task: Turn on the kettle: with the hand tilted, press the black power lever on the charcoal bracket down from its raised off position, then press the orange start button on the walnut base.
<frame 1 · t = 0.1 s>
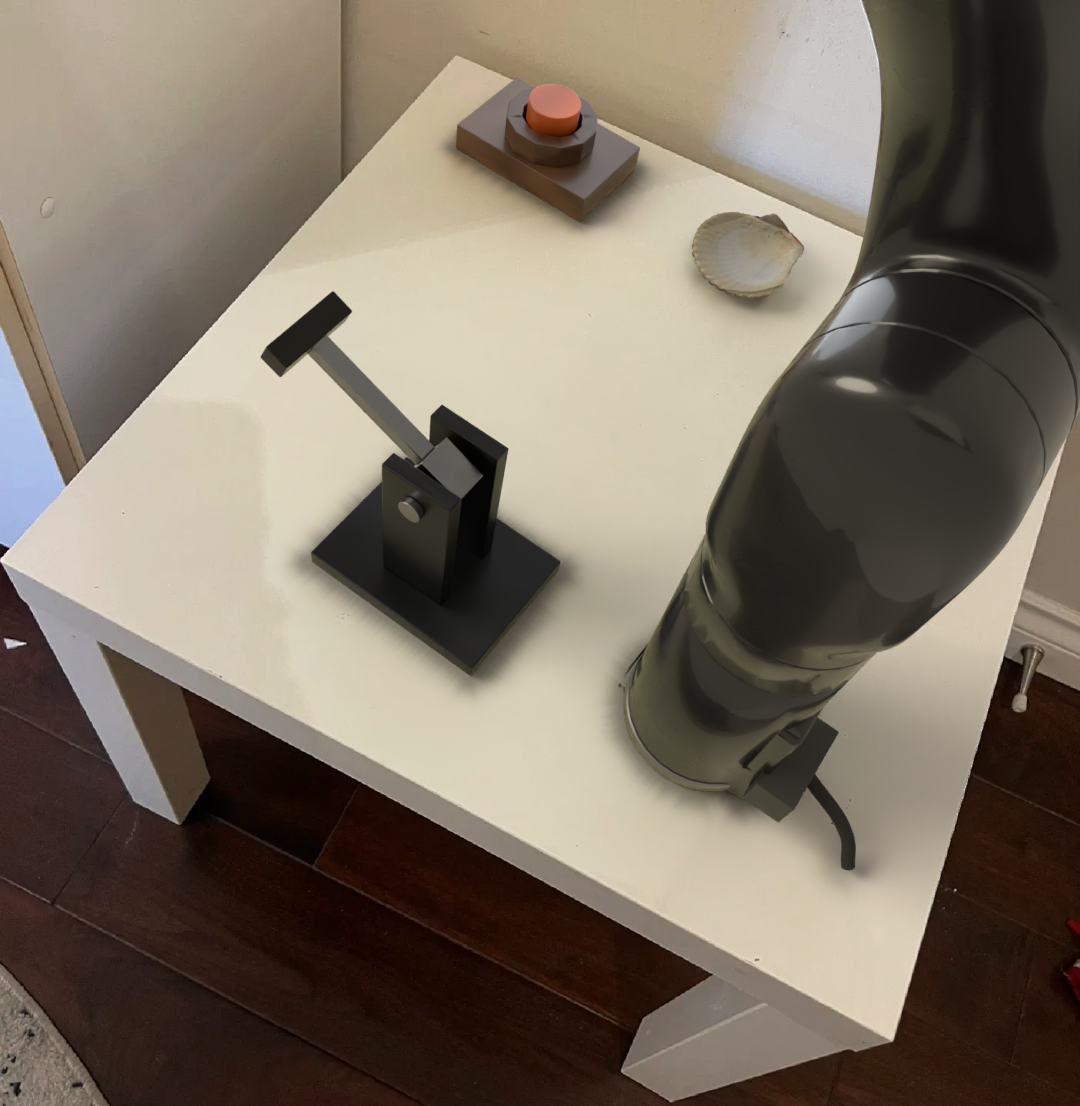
start button: (553, 110, 79), point 4 cm above the table, slide at 0.1 cm
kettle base: (545, 159, 83), on the table
switch lever: (381, 410, 54), point 12 cm above the table, hinge at 25.0°
seashell: (740, 270, 80), on the table
switch bracket: (436, 566, 63), on the table
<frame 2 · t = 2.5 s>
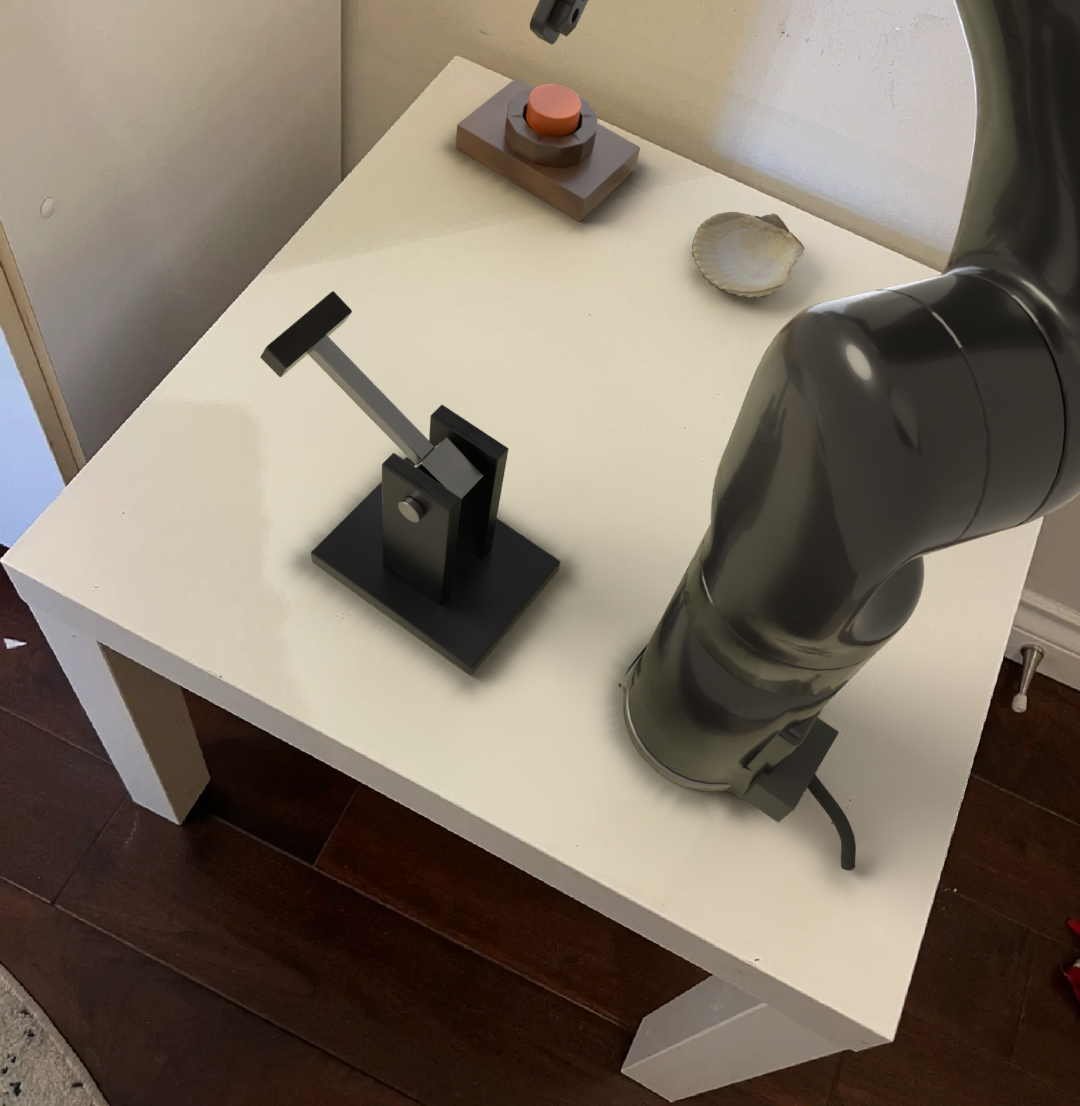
nothing on the table moved.
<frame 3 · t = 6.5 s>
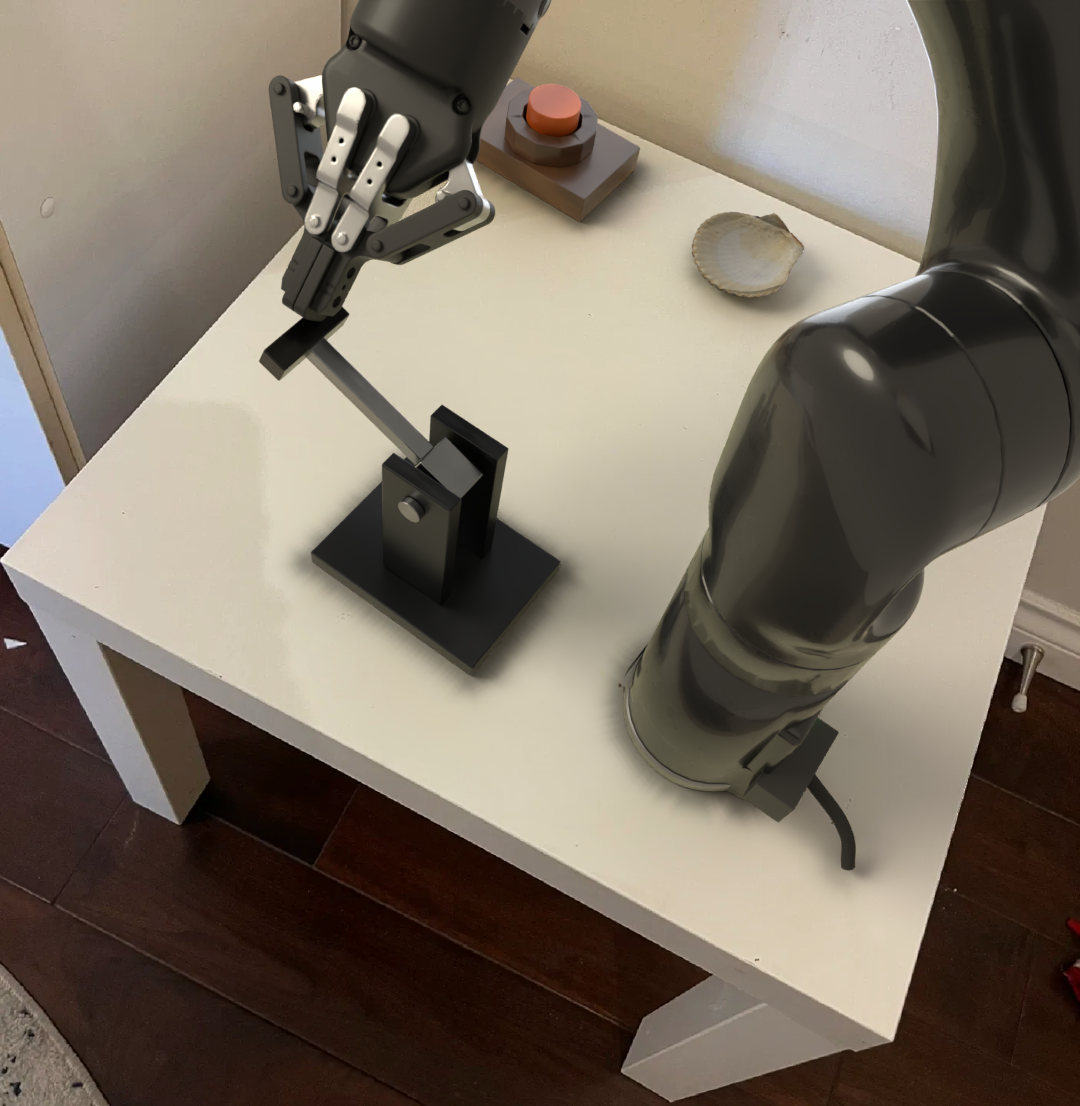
hand: (302, 313, 52), 15 cm above the table, tool tilted 45°, fingers closed
switch lever: (380, 412, 54), point 12 cm above the table, hinge at 22.4°, touching gripper
everything else where it was.
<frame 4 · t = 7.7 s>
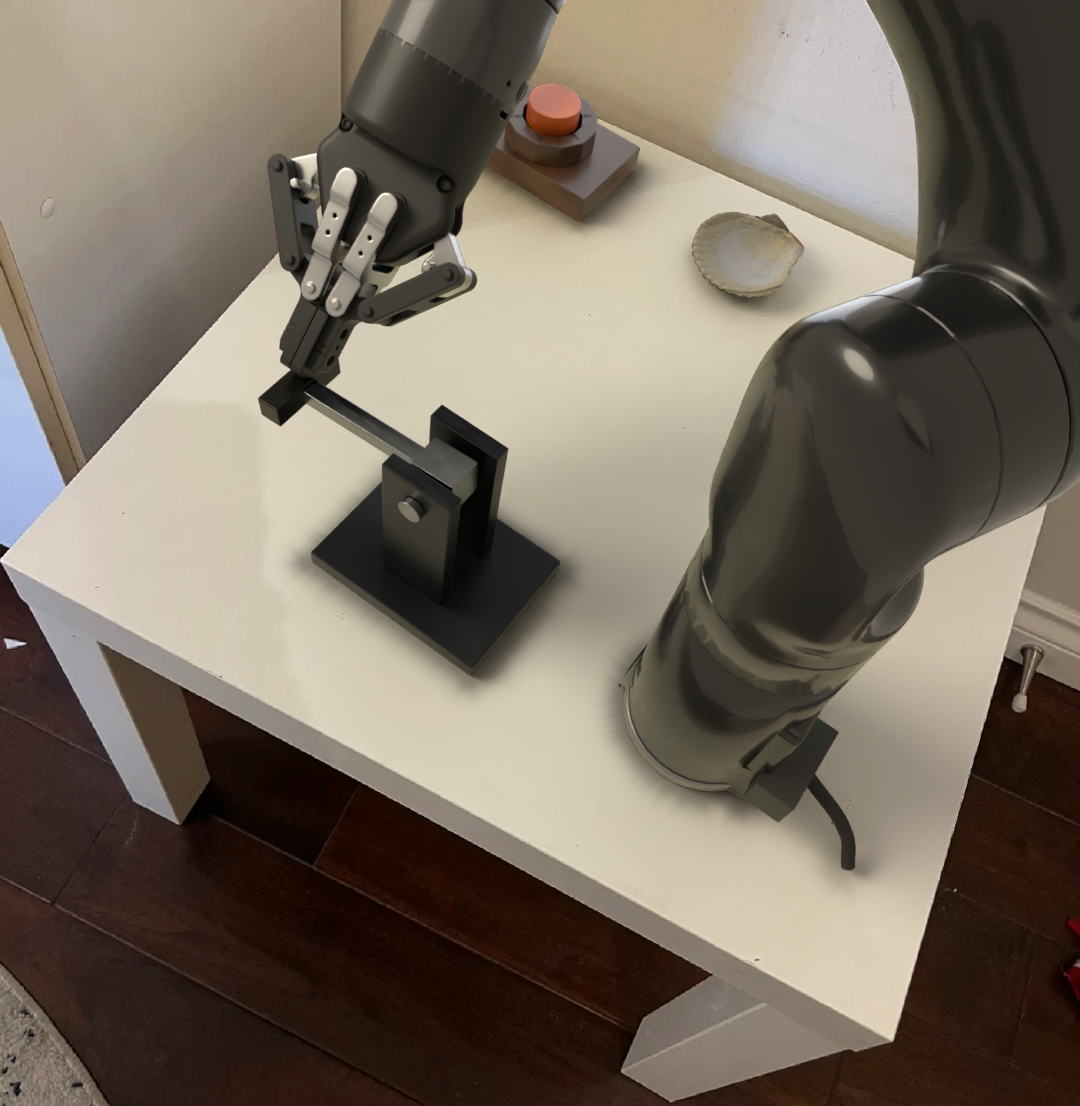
hand: (299, 370, 56), 11 cm above the table, tool tilted 45°, fingers closed
switch lever: (375, 432, 56), point 10 cm above the table, hinge at -4.0°, touching gripper
everything else where it was.
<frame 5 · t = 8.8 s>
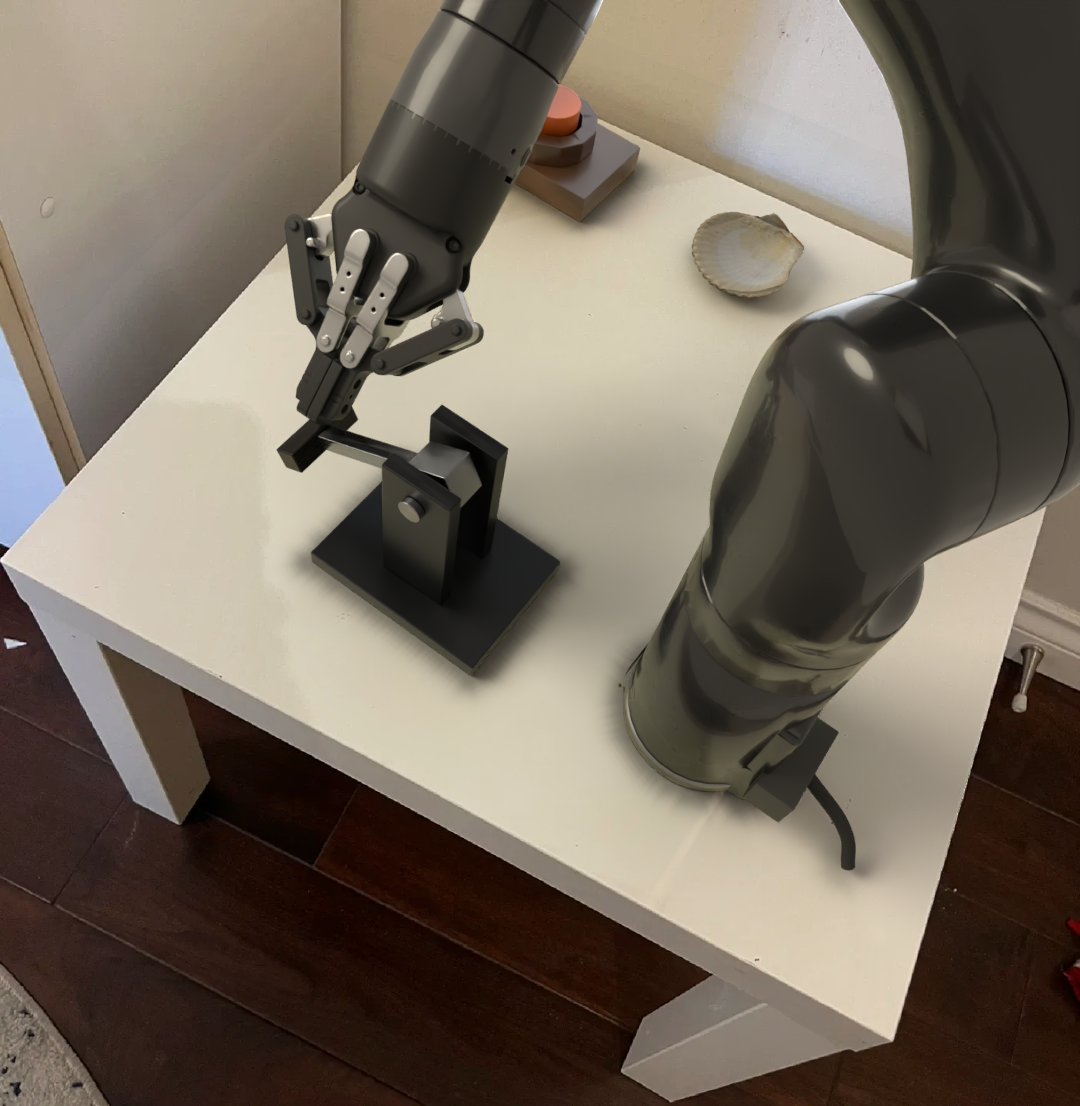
hand: (314, 417, 59), 7 cm above the table, tool tilted 45°, fingers closed
switch lever: (382, 455, 57), point 8 cm above the table, hinge at -26.1°, touching gripper
everything else where it was.
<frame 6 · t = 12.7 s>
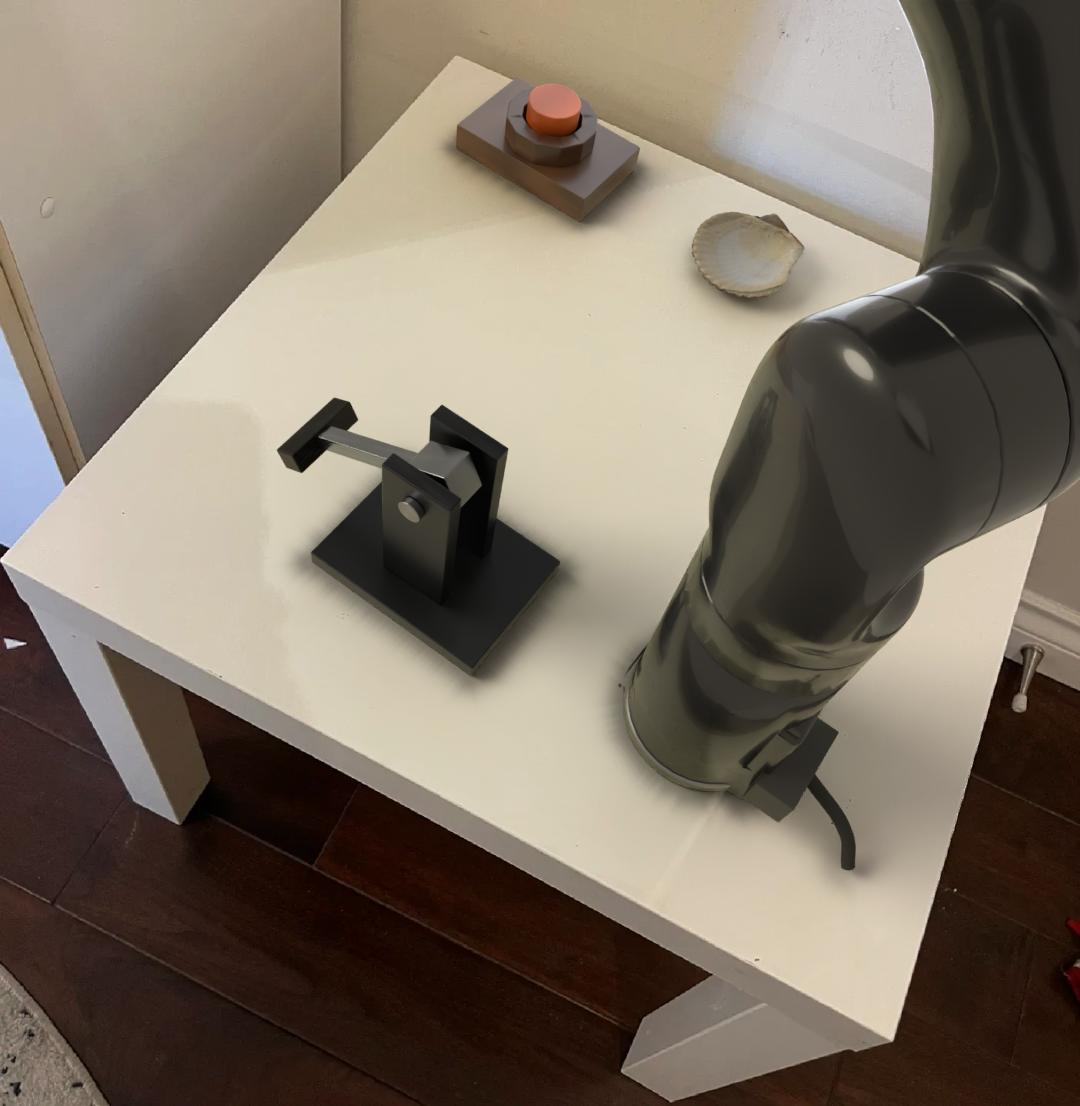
switch lever: (382, 455, 57), point 8 cm above the table, hinge at -26.2°
everything else where it was.
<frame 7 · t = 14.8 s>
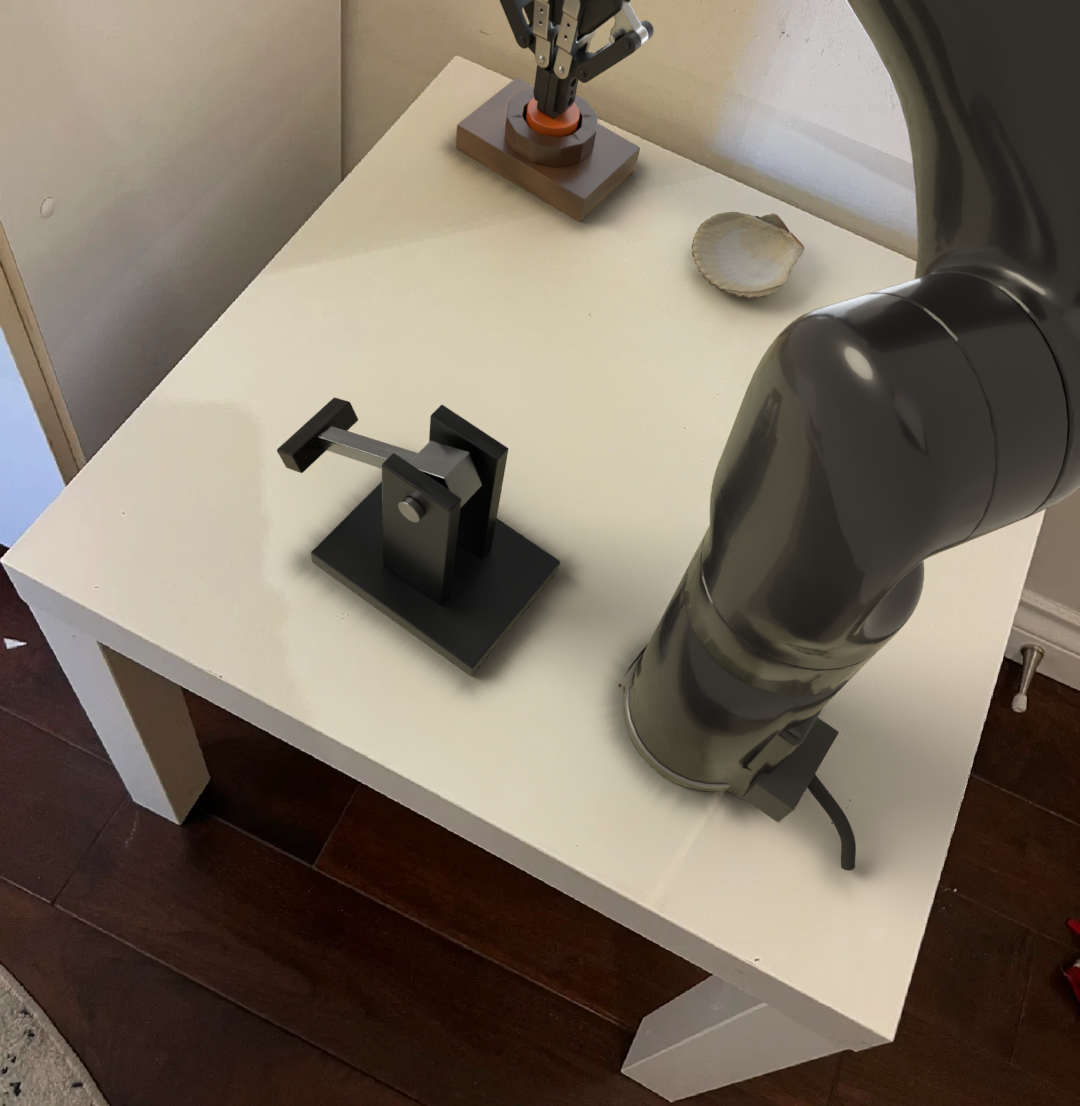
hand: (552, 109, 79), 5 cm above the table, tool pointing down, fingers closed
start button: (552, 120, 80), point 4 cm above the table, slide at -0.7 cm, touching gripper
everything else where it was.
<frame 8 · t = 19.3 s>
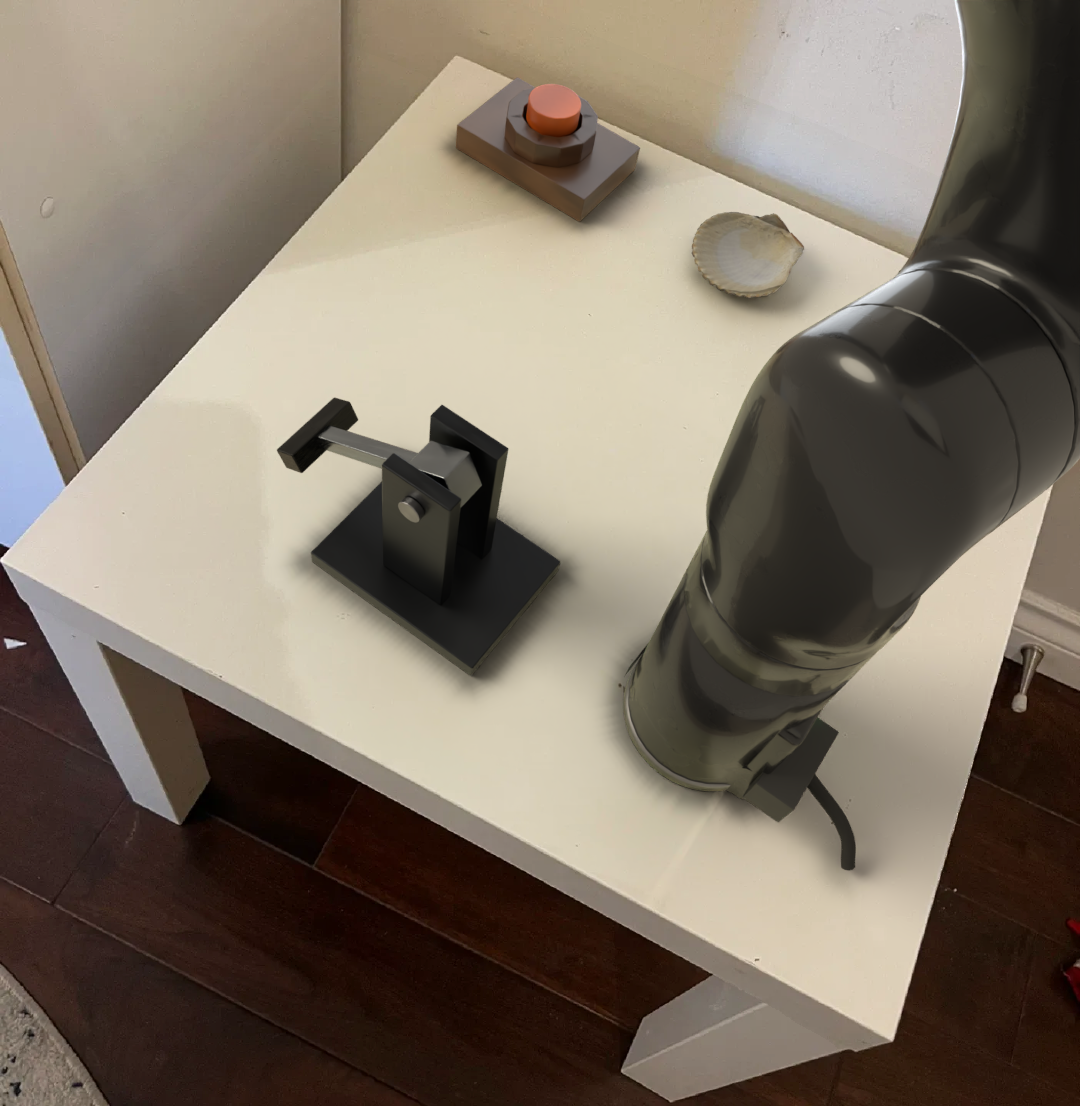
start button: (553, 110, 79), point 4 cm above the table, slide at 0.1 cm
everything else where it was.
at the end: switch lever at -26° (first picture: +25°); start button pushed in 1.1 cm at the most during the clip, back to where it started at the end; start button slide at 0.1 cm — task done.
